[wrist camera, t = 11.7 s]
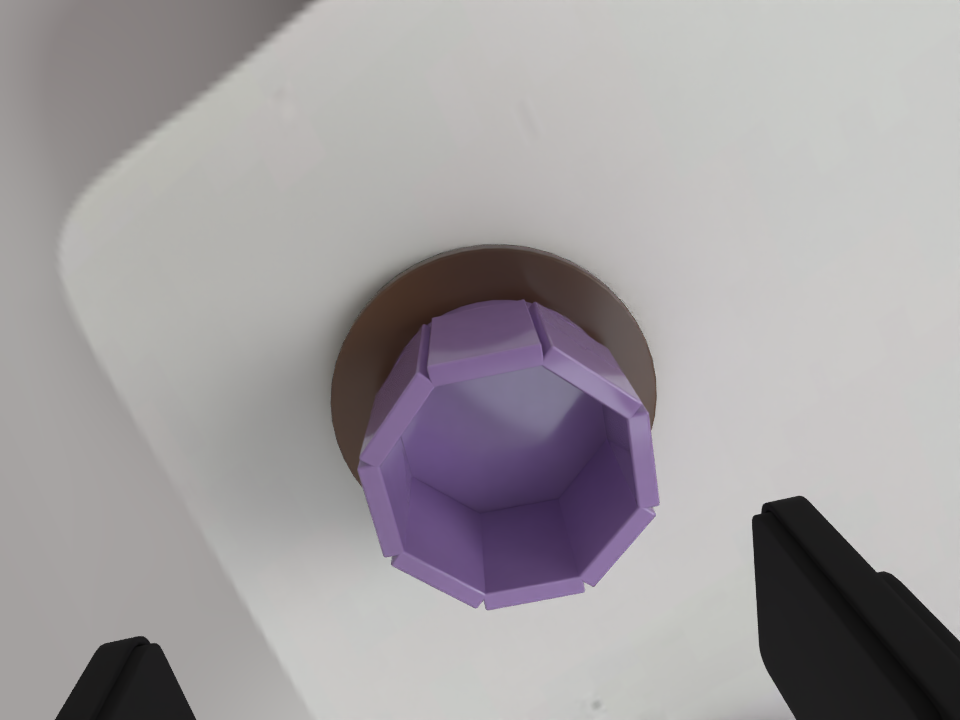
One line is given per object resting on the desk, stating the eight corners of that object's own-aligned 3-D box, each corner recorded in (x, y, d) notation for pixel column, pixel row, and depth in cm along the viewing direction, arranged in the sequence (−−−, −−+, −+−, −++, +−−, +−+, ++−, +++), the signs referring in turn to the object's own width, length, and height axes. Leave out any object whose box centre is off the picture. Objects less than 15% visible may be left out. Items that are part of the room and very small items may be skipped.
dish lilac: (413, 528, 20) (404, 626, 16) (356, 325, 18) (331, 385, 14) (628, 487, 20) (669, 577, 16) (598, 276, 17) (638, 324, 14)
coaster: (378, 559, 21) (376, 571, 20) (293, 281, 18) (288, 287, 17) (666, 504, 21) (672, 516, 20) (631, 212, 17) (637, 215, 17)
